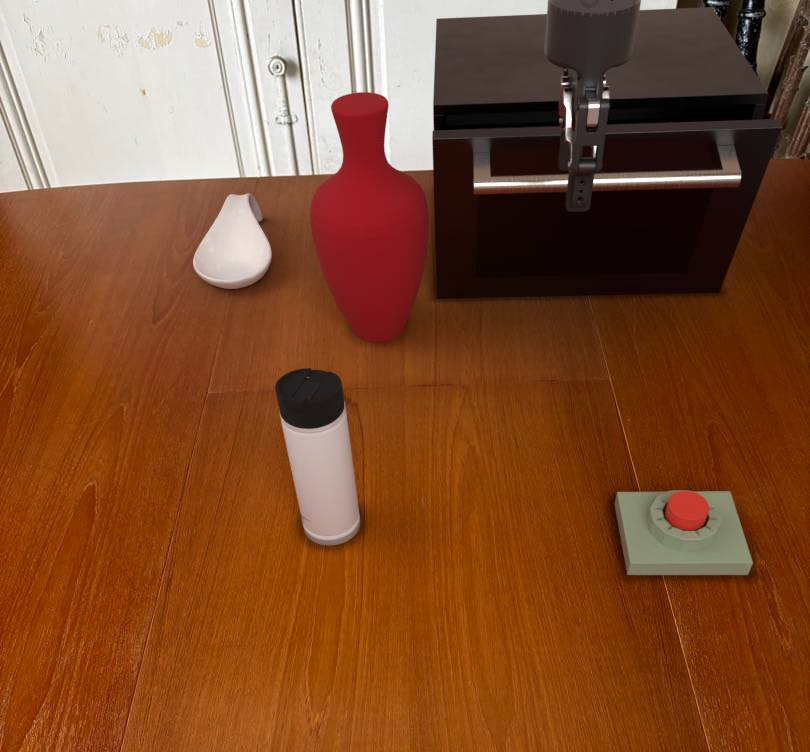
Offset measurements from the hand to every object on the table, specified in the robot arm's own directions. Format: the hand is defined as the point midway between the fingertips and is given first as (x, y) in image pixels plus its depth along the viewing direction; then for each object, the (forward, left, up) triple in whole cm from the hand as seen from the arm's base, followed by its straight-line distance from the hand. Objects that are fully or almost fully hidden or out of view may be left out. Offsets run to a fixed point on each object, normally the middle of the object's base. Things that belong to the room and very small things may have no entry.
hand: (572, 188), depth 79 cm
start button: (-12, +20, -25) cm, 34 cm away
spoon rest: (+45, -39, -29) cm, 66 cm away
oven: (-6, -44, -28) cm, 52 cm away
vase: (+22, -19, -29) cm, 41 cm away
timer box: (-12, +20, -28) cm, 37 cm away
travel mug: (+25, +18, -29) cm, 42 cm away
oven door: (-6, -24, -29) cm, 38 cm away
